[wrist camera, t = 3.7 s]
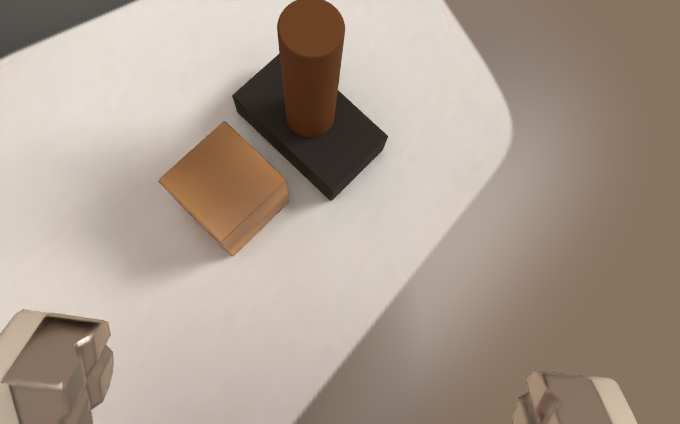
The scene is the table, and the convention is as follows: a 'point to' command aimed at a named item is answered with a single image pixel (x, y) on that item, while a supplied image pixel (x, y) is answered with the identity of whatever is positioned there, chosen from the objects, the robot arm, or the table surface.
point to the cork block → (227, 187)
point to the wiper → (310, 100)
